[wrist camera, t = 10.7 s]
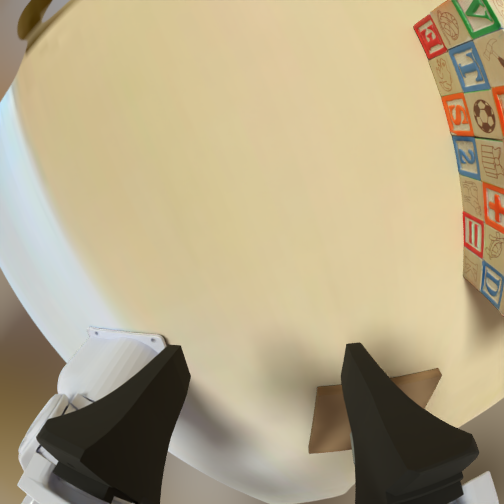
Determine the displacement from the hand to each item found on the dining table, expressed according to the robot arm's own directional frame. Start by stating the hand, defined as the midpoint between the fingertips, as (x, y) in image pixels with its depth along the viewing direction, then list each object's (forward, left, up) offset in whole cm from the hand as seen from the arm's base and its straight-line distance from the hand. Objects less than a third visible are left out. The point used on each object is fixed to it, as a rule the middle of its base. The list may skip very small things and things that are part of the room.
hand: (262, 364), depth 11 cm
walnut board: (+11, -20, -9) cm, 25 cm away
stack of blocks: (+18, +9, -10) cm, 22 cm away
